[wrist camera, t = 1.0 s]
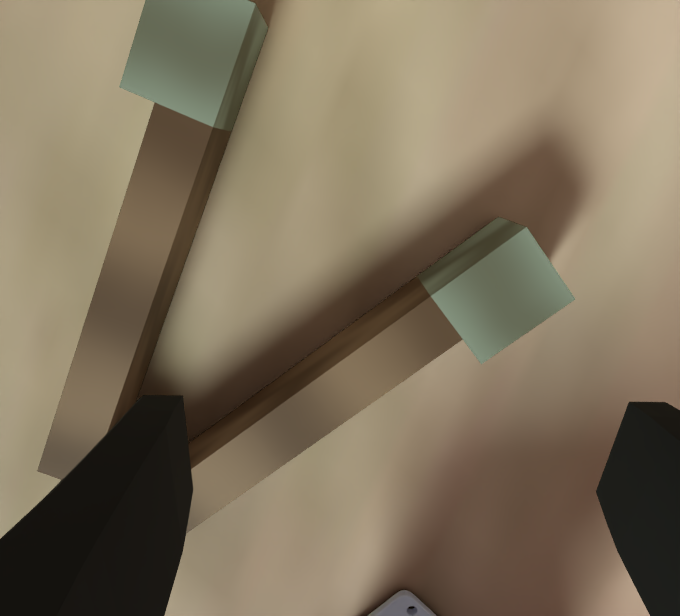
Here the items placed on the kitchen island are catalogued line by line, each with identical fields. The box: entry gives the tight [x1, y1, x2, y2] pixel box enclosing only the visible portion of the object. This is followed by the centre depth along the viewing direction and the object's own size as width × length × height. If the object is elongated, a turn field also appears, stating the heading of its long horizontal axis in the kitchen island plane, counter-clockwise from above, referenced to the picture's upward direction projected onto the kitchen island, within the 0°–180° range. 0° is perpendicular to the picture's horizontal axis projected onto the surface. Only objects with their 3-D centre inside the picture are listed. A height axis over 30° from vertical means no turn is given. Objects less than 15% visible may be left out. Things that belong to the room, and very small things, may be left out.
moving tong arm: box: [186, 217, 575, 533], centre depth 23 cm, size 18×3×4 cm, turn 127°
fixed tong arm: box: [37, 0, 268, 483], centre depth 22 cm, size 22×6×4 cm, turn 157°
